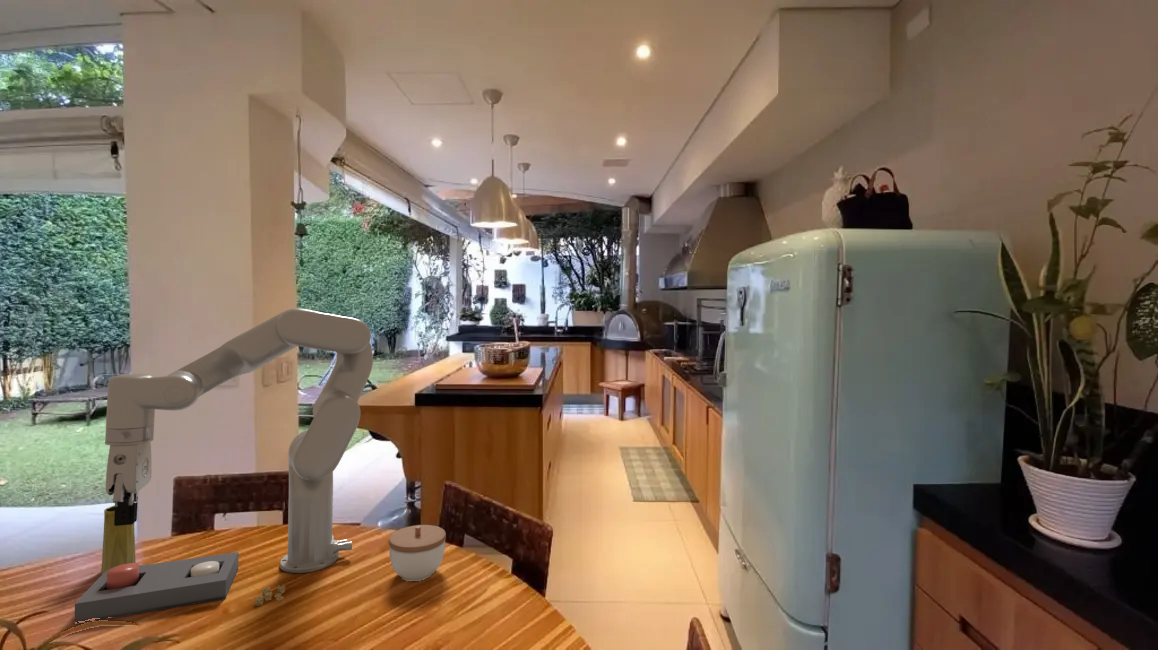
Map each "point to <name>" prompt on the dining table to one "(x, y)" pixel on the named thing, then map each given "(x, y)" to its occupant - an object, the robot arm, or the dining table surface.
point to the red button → (123, 576)
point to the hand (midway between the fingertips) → (125, 523)
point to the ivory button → (205, 568)
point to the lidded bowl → (417, 551)
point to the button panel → (159, 589)
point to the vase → (117, 542)
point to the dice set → (270, 595)
